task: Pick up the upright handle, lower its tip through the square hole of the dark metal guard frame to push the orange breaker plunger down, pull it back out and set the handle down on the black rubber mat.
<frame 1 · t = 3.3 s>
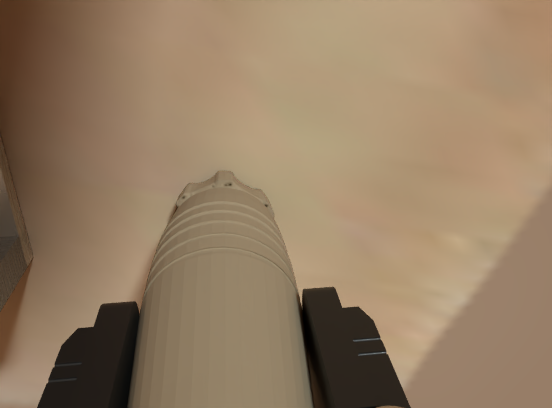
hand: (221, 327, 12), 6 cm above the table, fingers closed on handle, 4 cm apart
handle: (223, 207, 18), on the table, touching gripper
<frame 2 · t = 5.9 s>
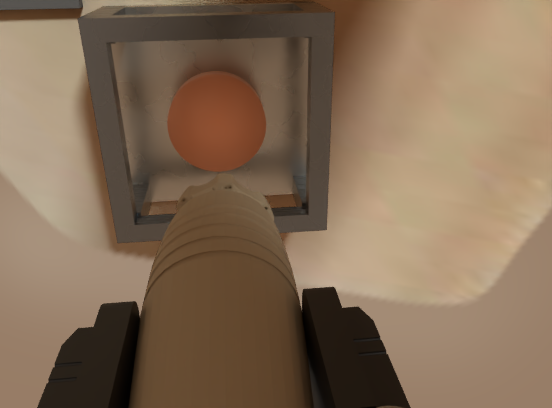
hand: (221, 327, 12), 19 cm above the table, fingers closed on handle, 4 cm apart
handle: (223, 210, 18), point 13 cm above the table, touching gripper
guard frame: (217, 106, 29), on the table
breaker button: (217, 122, 26), point 3 cm above the table, slide at 0.0 cm
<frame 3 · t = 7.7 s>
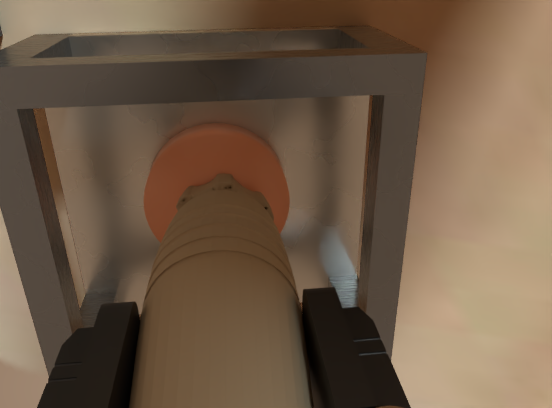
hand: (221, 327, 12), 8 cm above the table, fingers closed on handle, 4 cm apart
handle: (223, 210, 18), point 2 cm above the table, touching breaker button, gripper
guard frame: (217, 181, 19), on the table
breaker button: (217, 196, 18), point 1 cm above the table, slide at -1.6 cm, touching guard frame, handle
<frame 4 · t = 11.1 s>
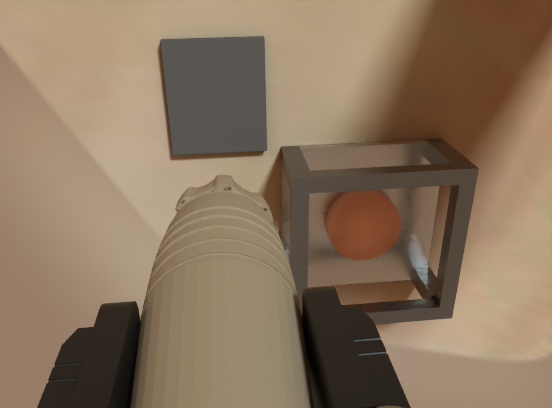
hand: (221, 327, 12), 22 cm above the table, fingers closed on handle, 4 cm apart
handle: (222, 211, 18), point 15 cm above the table, touching gripper
guard frame: (358, 215, 36), on the table
rubber mat: (216, 96, 31), on the table
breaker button: (362, 224, 35), point 1 cm above the table, slide at -1.6 cm, touching guard frame
when the fingers open (8 cm above the table, at t = 13.4 s): handle drops 1 cm, resting on rubber mat.
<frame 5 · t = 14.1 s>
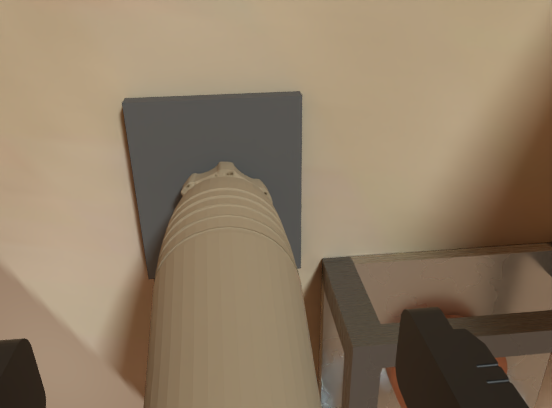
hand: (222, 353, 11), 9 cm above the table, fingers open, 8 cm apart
handle: (224, 197, 19), resting on rubber mat
guard frame: (434, 349, 24), on the table
rubber mat: (219, 187, 19), on the table
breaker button: (445, 369, 23), point 1 cm above the table, slide at -1.6 cm, touching guard frame
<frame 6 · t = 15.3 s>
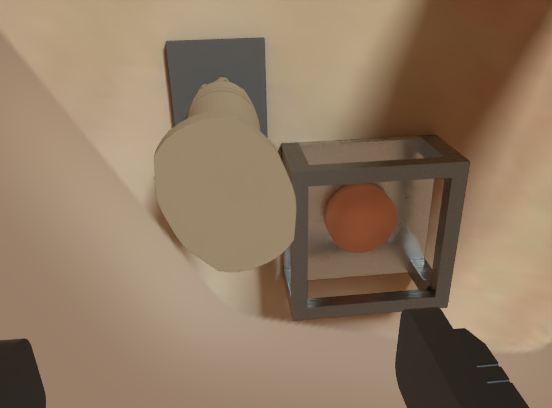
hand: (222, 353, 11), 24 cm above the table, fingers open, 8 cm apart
handle: (221, 100, 32), resting on rubber mat
guard frame: (355, 209, 37), on the table
rubber mat: (219, 95, 33), on the table
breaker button: (360, 217, 36), point 1 cm above the table, slide at -1.6 cm, touching guard frame
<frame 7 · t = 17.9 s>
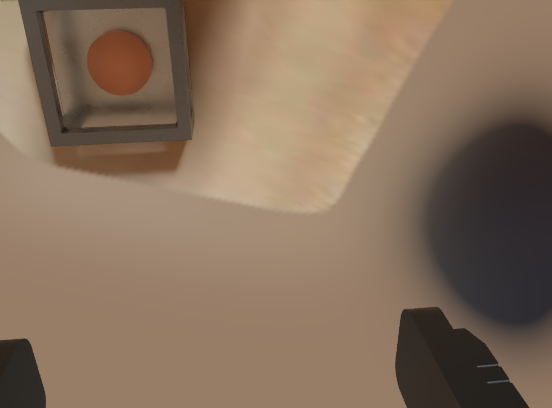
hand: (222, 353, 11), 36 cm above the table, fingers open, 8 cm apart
guard frame: (122, 60, 43), on the table
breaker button: (120, 63, 41), point 1 cm above the table, slide at -1.6 cm, touching guard frame
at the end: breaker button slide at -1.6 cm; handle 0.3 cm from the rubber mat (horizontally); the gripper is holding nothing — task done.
